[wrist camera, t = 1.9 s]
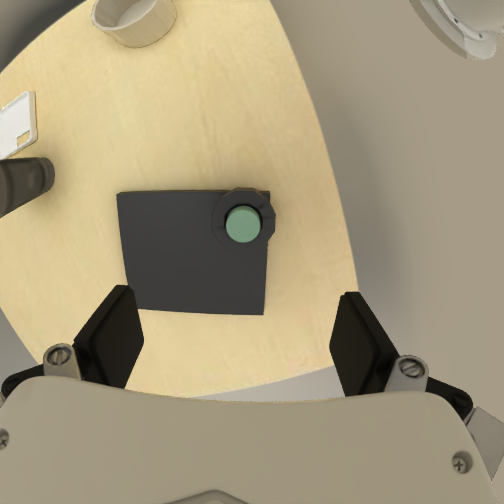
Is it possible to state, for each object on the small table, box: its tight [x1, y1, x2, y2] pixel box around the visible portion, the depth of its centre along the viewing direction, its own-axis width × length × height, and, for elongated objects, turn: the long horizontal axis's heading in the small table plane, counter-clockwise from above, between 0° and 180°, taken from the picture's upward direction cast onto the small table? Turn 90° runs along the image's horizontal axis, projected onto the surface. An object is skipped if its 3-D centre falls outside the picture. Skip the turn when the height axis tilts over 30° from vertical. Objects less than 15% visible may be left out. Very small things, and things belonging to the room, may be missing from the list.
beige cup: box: [91, 0, 176, 48], centre depth 17 cm, size 7×7×6 cm
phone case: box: [0, 91, 37, 160], centre depth 22 cm, size 7×1×15 cm
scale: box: [116, 188, 276, 315], centre depth 28 cm, size 16×14×3 cm
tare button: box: [226, 206, 260, 242], centre depth 25 cm, size 3×3×2 cm
